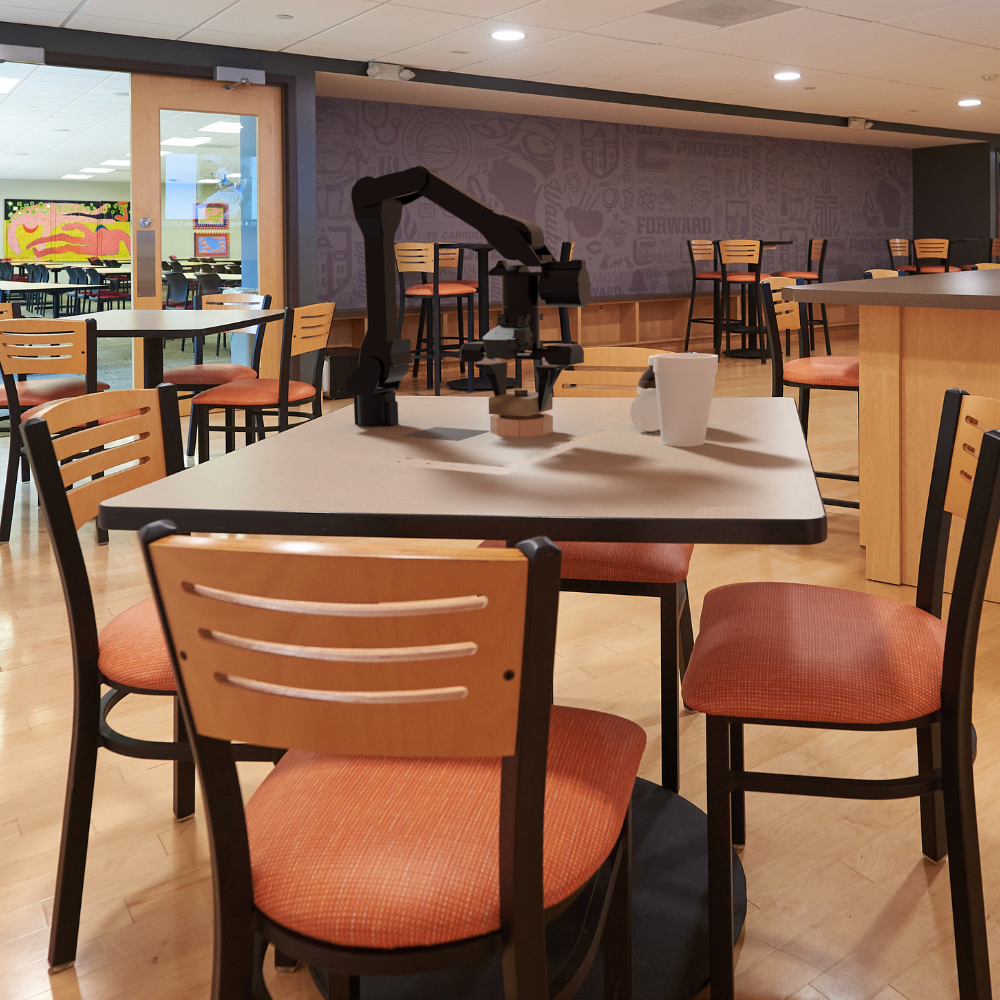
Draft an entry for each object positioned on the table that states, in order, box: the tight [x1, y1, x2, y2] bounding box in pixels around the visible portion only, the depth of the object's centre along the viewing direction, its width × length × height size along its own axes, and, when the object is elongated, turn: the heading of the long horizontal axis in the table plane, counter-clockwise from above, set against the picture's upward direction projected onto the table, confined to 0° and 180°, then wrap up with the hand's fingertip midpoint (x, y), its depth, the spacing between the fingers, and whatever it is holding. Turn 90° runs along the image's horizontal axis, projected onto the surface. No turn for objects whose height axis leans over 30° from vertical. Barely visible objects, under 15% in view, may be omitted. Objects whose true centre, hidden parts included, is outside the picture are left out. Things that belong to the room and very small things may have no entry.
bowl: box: [489, 412, 554, 438], centre depth 153 cm, size 9×9×4 cm
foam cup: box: [653, 352, 719, 448], centre depth 146 cm, size 10×9×13 cm
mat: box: [402, 426, 490, 441], centre depth 152 cm, size 10×10×1 cm
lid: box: [488, 389, 553, 416], centre depth 152 cm, size 6×9×3 cm
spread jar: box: [629, 354, 661, 434], centre depth 160 cm, size 12×11×12 cm
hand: (521, 409), depth 152 cm, fingers closed on lid, 6 cm apart
